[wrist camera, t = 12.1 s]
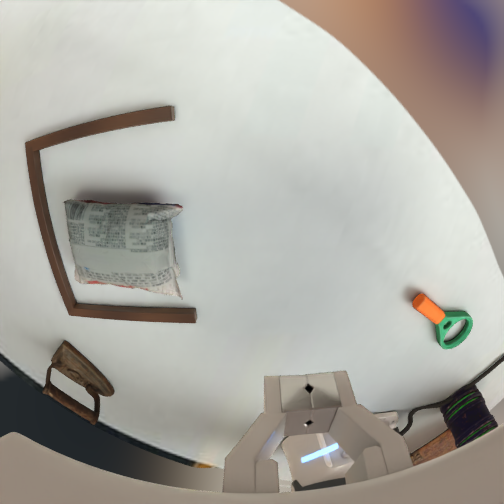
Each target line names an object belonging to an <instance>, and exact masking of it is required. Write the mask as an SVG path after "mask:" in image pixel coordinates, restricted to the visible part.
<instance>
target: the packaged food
mask: <svg viewBox="0 0 504 504" xmlns="http://www.w3.org/2000/svg"><path fill="white" fill-rule="evenodd" d="M64 203H65V210H66V216H67V226H68V233H69V241H70V245H71V249H72V254H73V258H74V261H75V280H76V281H78V282H80V283H82V284H85V283H86V284H112V285H116V286H120V287H126V288H132V289H133V288H141V289H144V290H147V291H152V292H155V293H160V294H166V295H167V294H168V295H174V296H179V297H181V299H182V295H181V293H180V290H179V287H178V284H177V280H176V277H178V276H179V275H180V269H179V266H178V263H176V258H175V248H174V244H173V239H172V225H173V224H172V221H171V218H172V217H175V216H177V215H178V214H179V213H180V212H181V211H182V210H183V207H182V206H180V205H179V204H167V203H166V204H160V203H131V204H117V203H104V202H97V201H93V200H84V201H83V200H75V199H74V200H72V199H70V200H67V201H65V202H64Z"/></svg>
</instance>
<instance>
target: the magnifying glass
mask: <svg viewBox="0 0 504 504" xmlns="http://www.w3.org/2000/svg"><path fill="white" fill-rule="evenodd" d="M412 305H413V307H414V308H415V309H416V310H417V311H419V312H420V313H422V314H423V315H424V316H426V317H427V318H428V319H429V320H431V321H432V322H433V323H435V325H436V335H437V341H438V343H439V345H440V346H441V347H442V348H443V349H452V348H454V347H456V346H458V345H459V344H460V343H462V342H463V341H464V340H465V339H466V337H467V336H468V335H469V333H470V331H471V329H472V326H473V320H472V318H471V317H470V315H469V314H468V313H466V312H464V311H457V312H444V311H443V310H441V309H440V308H439V307H438V306H437V305H436V304H435V303H433V302H432V301H431V300H430V299H429V298H428V297H427V296H425V295H424V294H419V295H418V296H417V297H416V298H415V299H414V300H413V303H412ZM462 319H466V325H465V327H464V329H463V330H462V332H461V333H460V334H459V335H458V336H457V337H456V338H454V339H453V340H451V341H449V342H443V340H444V337H445V335H446V333H447V332H448V330H449V329H450V328H451V327H452V326H453V325H454V324H455V323H457V322H458V321H460V320H462ZM446 322H447V323H446ZM445 323H446V324H445ZM444 324H445V325H444Z"/></svg>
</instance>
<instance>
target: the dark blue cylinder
mask: <svg viewBox="0 0 504 504" xmlns="http://www.w3.org/2000/svg"><path fill="white" fill-rule="evenodd" d="M468 385H469V384H468ZM466 386H467V385H466ZM466 386H464V387H462V388H461V389H459V390H458V391H456V392H455V393H454V394H453V395H451V396H450V397H449V398H451V397H452V398H453V400H452V401H451V402H450V403H448V404H446V405H444V406H441V408H440V411H441V413H443V417H444V421H445V423H446V424H447V427H448V429H450V430H451V432H452V435H453V437H454V439H455V446H456V447H457V449H458V448H460V447H462V446H464V445H466V444H468V443H470V442H472V441H474V440H476V439H477V438H479V437H481V436H483V435H485V434H487V433H488V432H490V431H492V430H493V429H495V428H497V427H498V424H497V422H496V421H495V419H494V417H493V415H491V414H490V412H489V410H488V408H487V407H486V405H485V400H484V398H483V397H482V394H481V393H480V392H479V390H478V389H477V388H476V385H473V386H472V387H471V388H470V389H468V390H465V387H466ZM449 398H448V399H449Z"/></svg>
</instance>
